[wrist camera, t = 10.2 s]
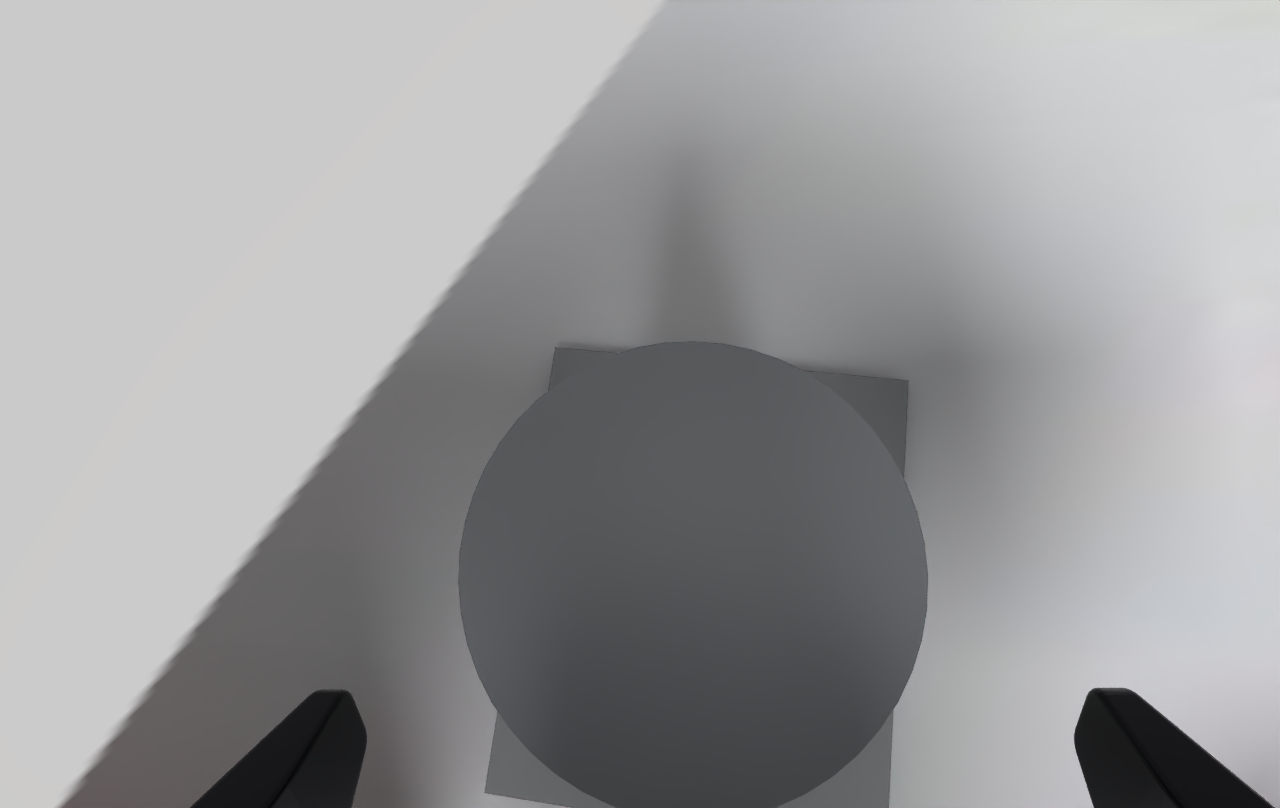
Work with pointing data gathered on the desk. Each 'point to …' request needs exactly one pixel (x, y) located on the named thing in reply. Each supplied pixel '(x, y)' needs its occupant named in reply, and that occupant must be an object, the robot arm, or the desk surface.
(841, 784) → the charcoal pad
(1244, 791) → the robot arm
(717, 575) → the tin canister
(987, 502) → the desk surface
